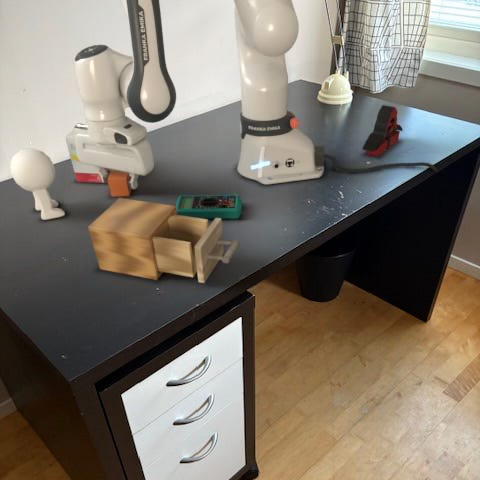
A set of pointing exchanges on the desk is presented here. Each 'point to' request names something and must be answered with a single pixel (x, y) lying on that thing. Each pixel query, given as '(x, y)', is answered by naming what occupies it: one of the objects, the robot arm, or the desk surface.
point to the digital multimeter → (209, 206)
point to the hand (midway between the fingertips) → (120, 185)
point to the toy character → (36, 179)
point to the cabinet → (129, 236)
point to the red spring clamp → (383, 132)
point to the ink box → (82, 170)
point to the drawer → (191, 246)
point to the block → (119, 183)
